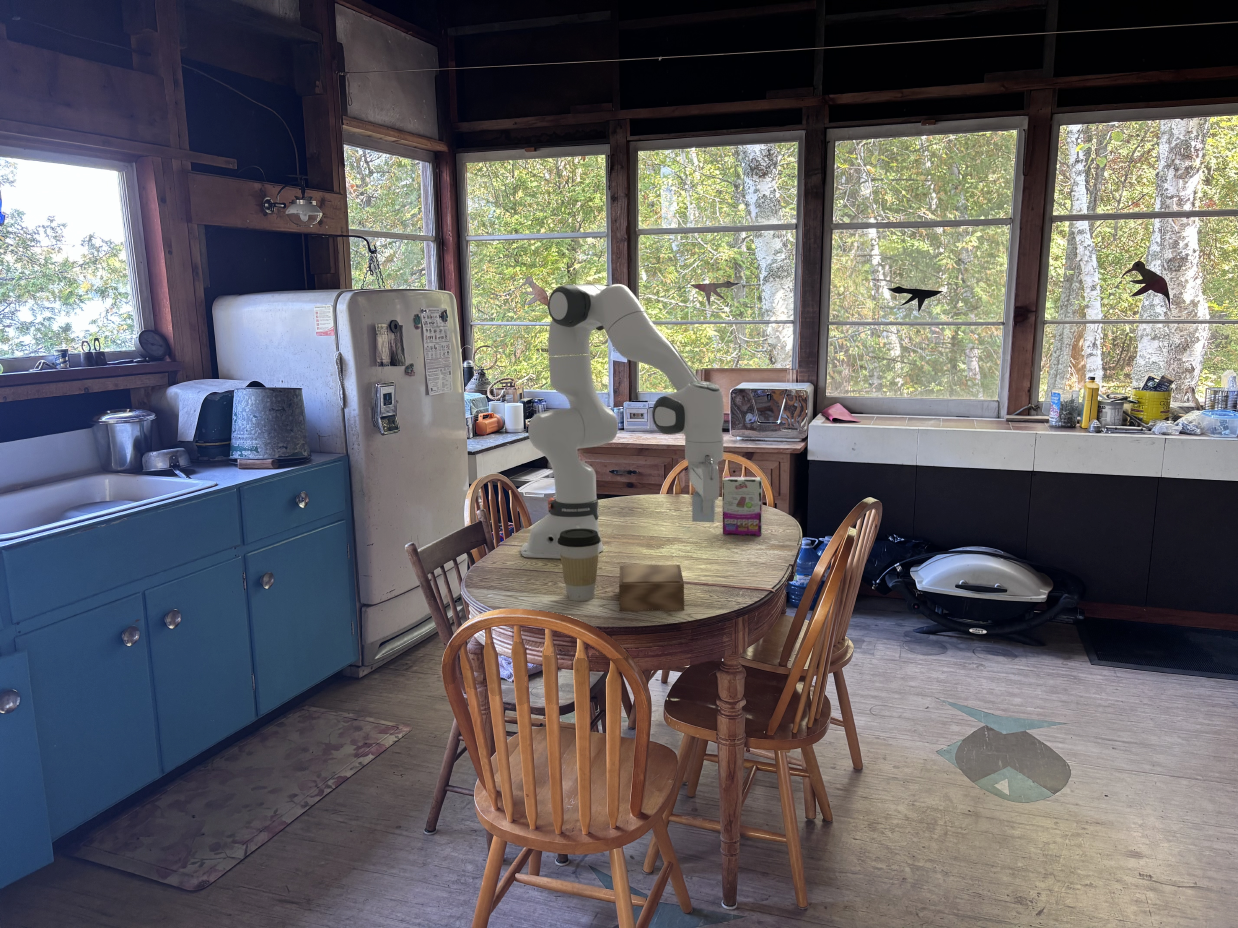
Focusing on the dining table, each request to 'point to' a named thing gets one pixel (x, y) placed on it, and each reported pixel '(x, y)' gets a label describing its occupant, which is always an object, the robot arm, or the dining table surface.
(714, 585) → the dining table surface
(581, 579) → the coffee cup
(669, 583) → the block
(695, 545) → the dining table surface
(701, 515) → the painted block
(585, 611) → the dining table surface
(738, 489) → the candy bar box
